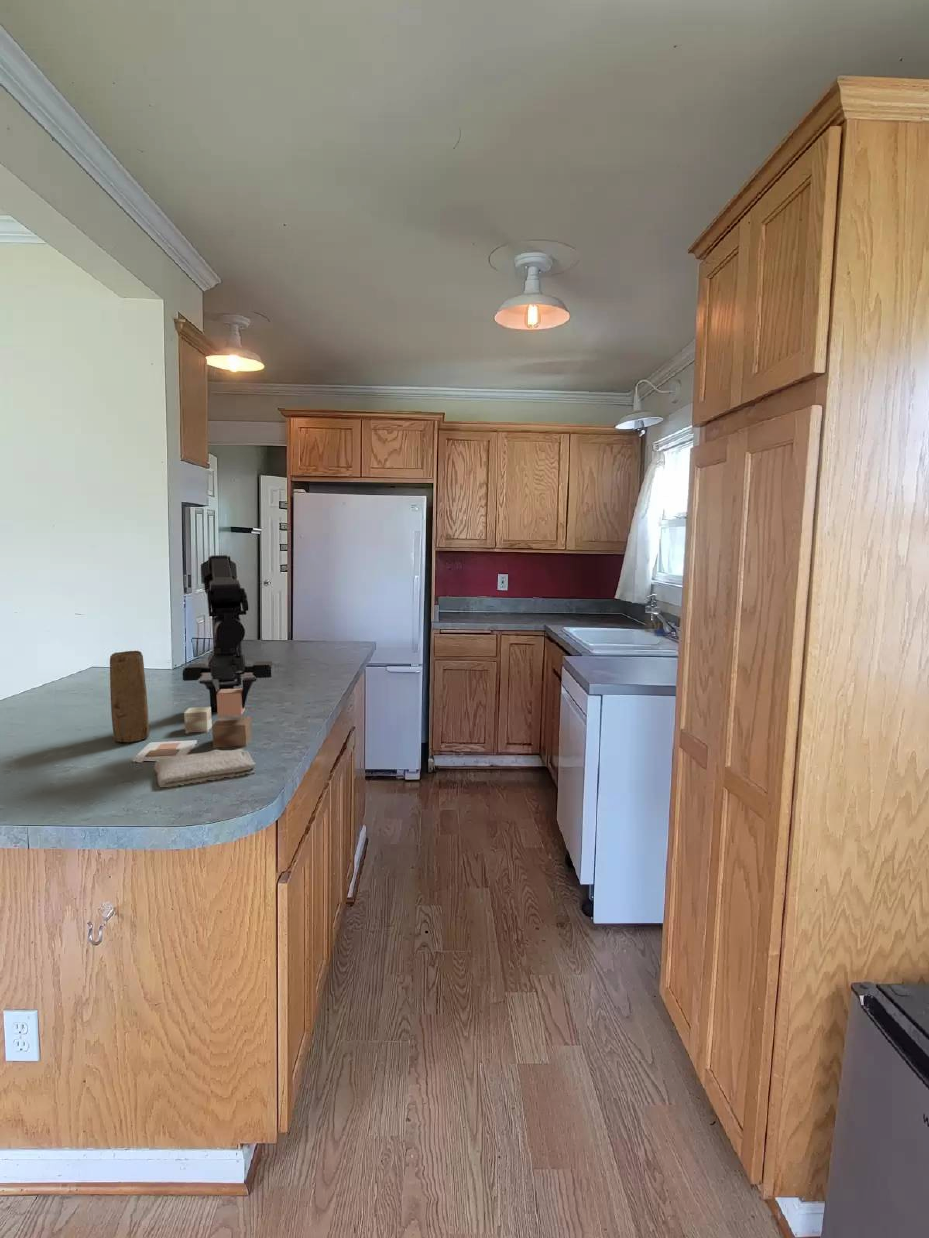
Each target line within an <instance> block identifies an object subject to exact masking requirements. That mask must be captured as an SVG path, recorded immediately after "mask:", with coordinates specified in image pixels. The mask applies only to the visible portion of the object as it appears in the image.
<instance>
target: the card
mask: <svg viewBox="0 0 929 1238" xmlns="http://www.w3.org/2000/svg"><path fill="white" fill-rule="evenodd" d="M195 744H196V745H197V744H198V739H197V740H196V739H194V740H174V741H172V740H171V741H158V742H157V741H155V742H154V741H153V742H149V743H148V744H146V745H145V746H144V748H142V749H141V751H139V752H138V754H136V755H135V756H134V758H132V759H131V762H132V761H148V760H162V759H164V758H171V757H178V756H183V755H187V754H190V752H191V751H192V750H193V749H194V747H195V746H196V745H195ZM191 749H192V750H191Z"/></svg>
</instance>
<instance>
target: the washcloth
mask: <svg viewBox="0 0 929 1238" xmlns="http://www.w3.org/2000/svg"><path fill="white" fill-rule="evenodd" d="M256 765H257V762H255V761H254V759H253V758H252V757H251V754H250V753H249V751H248V750H244V749H243V748H237V749H233V750H227V749H226V750H220V749H212V750H210V751H204V752H197V753H188V755H183V756H178V757H171V758H164V759H162V760H159V761H156V762H154V765H153V768H154V771H155V774H156V776H157V778H156V779H157V783H158V786H159V788H160V787H169V786H175V787H178V786H177V785H181V784H188V785H190V784H189V783H194V784H196V783H195V782H200V781H205V782H207V781H206V780H212V781H215V780H214V779H218V780H220V779H219V778H224V777H230V778H234V777H233V776H237V777H239V776H238V775H243V774H250V775H252V774H251V773H255V772H256V771H255V766H256ZM157 774H158V775H157ZM243 776H244V775H243ZM224 779H225V778H224ZM200 783H201V782H200ZM169 788H170V787H169Z"/></svg>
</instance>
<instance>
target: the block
mask: <svg viewBox="0 0 929 1238" xmlns="http://www.w3.org/2000/svg"><path fill="white" fill-rule="evenodd" d="M144 663H145V662H144V656H143V653H142V652H141V651H140V650H139V651H138V650H127V651H126V650H125V651H121V652H114V653H112V654H111V655H110V658H109V682H110V684H109V686H110V692H109V693H110V712H111V722H112V723H111V724H112V731H113V733H112V734H113V739H114V741H115V742H117V743H121V742H123V743H135V742H139V741H142V739H143V740H145V739H147V738H149V736H150V724H149V722H150V721H149V720H150V719H149V707H148V697H147V685H146V675H145V666H144V665H145V664H144ZM134 741H135V742H134Z"/></svg>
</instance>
